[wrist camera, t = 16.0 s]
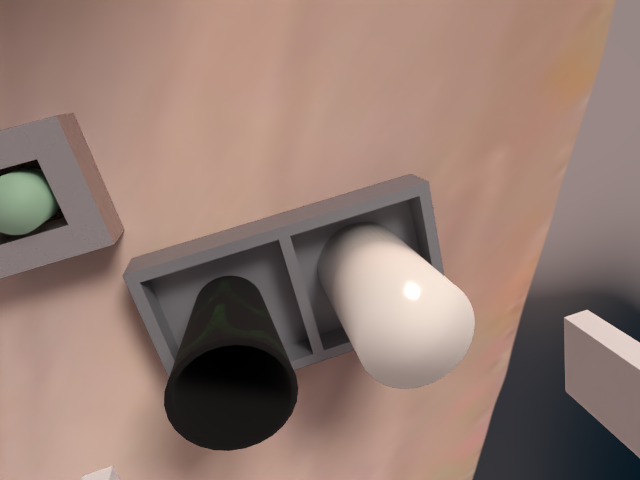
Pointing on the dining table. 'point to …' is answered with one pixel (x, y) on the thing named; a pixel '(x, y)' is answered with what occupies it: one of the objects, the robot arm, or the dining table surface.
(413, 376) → the billet
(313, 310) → the grey divided tray
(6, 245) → the grey square socket block
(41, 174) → the button
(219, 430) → the cup
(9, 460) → the dining table surface
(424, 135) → the dining table surface
